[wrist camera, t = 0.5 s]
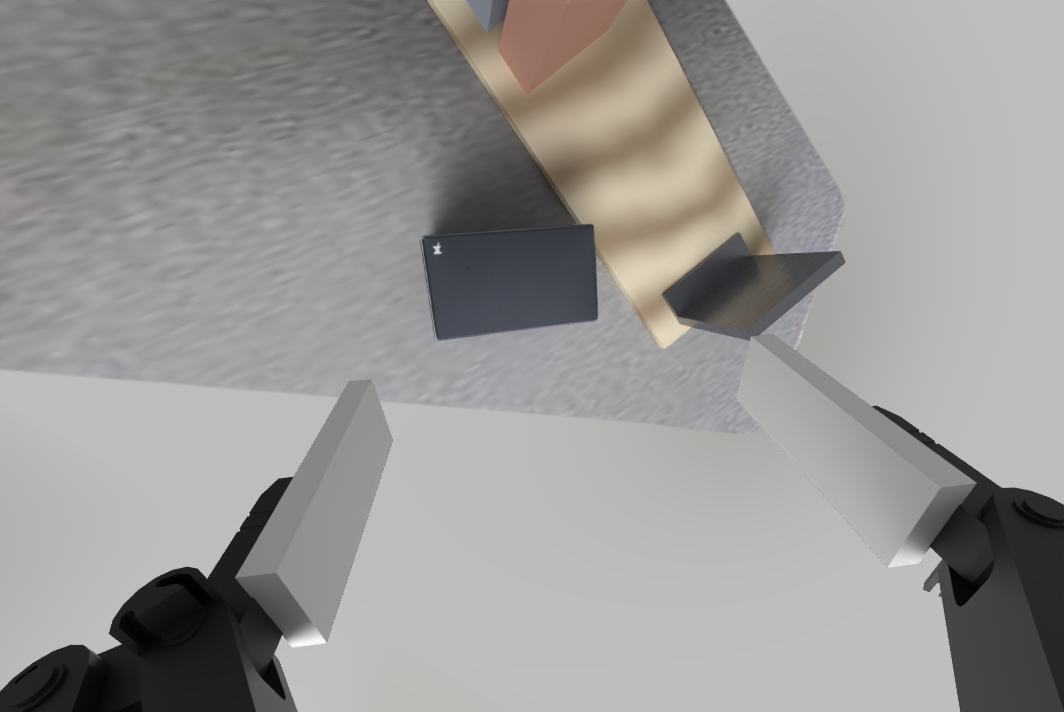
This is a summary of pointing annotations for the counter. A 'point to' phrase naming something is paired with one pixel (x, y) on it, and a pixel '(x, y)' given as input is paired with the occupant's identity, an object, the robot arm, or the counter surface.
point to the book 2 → (551, 34)
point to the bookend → (746, 288)
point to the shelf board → (623, 153)
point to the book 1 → (489, 12)
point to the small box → (510, 279)
